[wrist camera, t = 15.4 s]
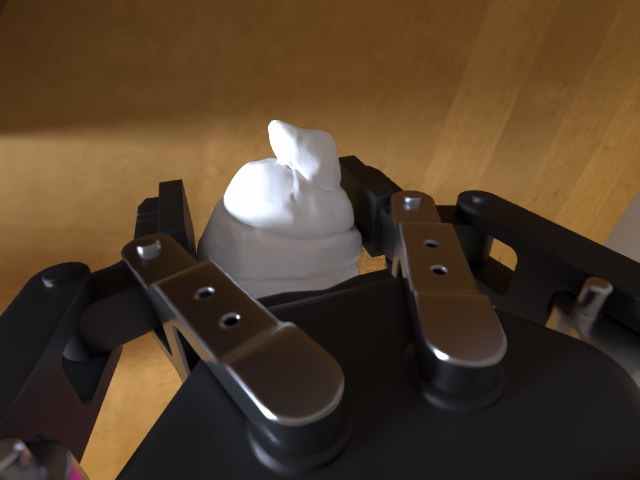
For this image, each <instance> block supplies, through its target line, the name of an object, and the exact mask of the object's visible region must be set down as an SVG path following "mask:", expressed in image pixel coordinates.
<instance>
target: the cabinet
mask: <svg viewBox="0 0 640 480" xmlns="http://www.w3.org/2000/svg"><path fill="white" fill-rule="evenodd" d="M6 1H7V0H0V15H1V13H2V11H3V8H4V6H5V4H6Z"/></svg>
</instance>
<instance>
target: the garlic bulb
mask: <svg viewBox="0 0 640 480" xmlns="http://www.w3.org/2000/svg"><path fill="white" fill-rule="evenodd" d="M268 130H269V136H270V142H271V146H272V149H273V151H274V152H275V154H276V156H277V158H278V159H276V158H266V159H263V160H260V161H252V162H249V163H247V164H245V165H244V166H243V167H242V168H241V169H240V170H239V171H238V173H237V174H236V175H235V177H234V178H233V179H232V181H231V183H230V185H229V187H228V188H227V191H226V193H225V195H224V197H223V198H222V199H221V200H220V201H219V202H218V203H217V204H216V206H215V208H214V210H213V213H212V215H211V217H210V219H209V222H208V224H207V226H206V228H205V230H204V233H203V235H202V237H201V238H200V240H199V243H198V248H197V261H198V262H199V263H200V262H202V261H205V260H207V259H211V260H213V261H214V262H215V263H216V264H217V265H219V266H220V267H221V268H222V269H223V270H224V271H225V272H226V273H227V274H229V275H230V276H231V277H232V278H233V279H234V280H235V281H236V282H237V283H239V284H240V285H241V286H242V287H243V288H244V289H245V290H246V291H247V292H249V293H250V294H251V295H252V296H253V297H254V298H255V299H256V298H261V297H265V296H270V295H274V294H278V293H283V292H292V291H311V290H325V289H328V288H330V287H332V286H335V285H337V284H339V283H341V282H344V281H346V280H348V279H350V278H352V277H355V276H358V275H359V270H358V260H359V259H360V257H361V255H362V236H361V233H360V232H359V231H358V229H357V228H356V226H355V225H354V214H353V208H352V204H351V202H350V200H349V199H348V197H347V195H346V192H345V190H343V189H342V187H341V186H340V181H341V171H340V163H339V159H338V153H337V147H336V143H335V141H334V139H333V138H332V137H331V135H330V134H328V133H327V132H325V131H322V130H308V129H303V128H300V127H297V126H295V125H292V124H289V123H287V122H284V121H281V120H273V121H272V122H271V123H270V124H269V126H268Z"/></svg>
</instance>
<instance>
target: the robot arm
mask: <svg viewBox="0 0 640 480" xmlns="http://www.w3.org/2000/svg"><path fill="white" fill-rule="evenodd" d="M338 159H339V163H340V171H341V181H340V186H341V187H342V189H343V190H345V192H346V195H347V197H348V199H349V200H350V202H351V204H352V208H353V214H354V225H355V226H356V228H357V229H358V231H359V232H360V233H361V236H362V245H363V247H364V248H365V249H366V251H367V252H368V253H369V255H370V256H371V257H376V256H381V255H385V263H384V270H380V271H375V272H371V273H366V274H362V275H358V276H355V277H352V278H350V279H348V280H346V281H344V282H341V283H339V284H337V285H335V286H332V287H330V288H328V289H325V290H311V291H292V292H283V293H278V294H274V295H270V296H265V297H261V298H256V299H255V298H254V297H253V296H252V295H251V294H250V293H249V292H247V291H246V290H245V289H244V288H243V287H242V286H241V285H240V284H239V283H237V282H236V281H235V280H234V279H233V278H232V277H231V276H230V275H229V274H227V273H226V272H225V271H224V270H223V269H222V268H221V267H220V266H219V265H217V264H216V263H215V262H214V261H213V260H211V259H207V260H205V261H202V262H200V263H199V262H198V261H197V254H196V245H195V236H194V230H193V225H192V220H191V216H190V211H189V207H188V203H187V198H186V194H185V190H184V186H183V182H182V179H180V180H173V181H166V182H160V183H159V197H154V198H147V199H145V200H144V201H143V202H142V203H141V204H140V205H139V206H138V212H137V220H136V222H137V223H136V227H135V235H134V240H132V241H131V242H129V243H128V244H126V245H125V246H124V248H123V249H122V251H121V256H122V258H123V260H121V261H120V262H118V263H116V264H114V265H112V266H109V267H107V268H104V269H101V270H99V271H96V272H93V273H91V271H90V269H89V267H88V266H87V265H86V264H83V263H80V262H67V263H62V264H58V265H54V266H51V267H49V268H47V269H44V270H42V271H41V272H39V273H37V274H36V275H34V276H33V277H32V278H31V279H30V280H29V281H28V282H27V283H26V285H25V286H24V287H23V288H22V290H21V291H20V292H19V294H18V295H17V296H16V297H15V299H14V300H13V301H12V302H11V304H10V305H9V306H8V308H7V309H6V310H5V311H4V313H3V314H2V315H1V316H0V480H90V479H89V477H88V476H87V474H86V473H85V472H84V470H83V469H82V467H81V466H80V462H81V459H82V457H83V454H84V451H85V449H86V446H87V443H88V441H89V438H90V435H91V433H92V430H93V427H94V425H95V422H96V419H97V417H98V414H99V411H100V409H101V406H102V403H103V401H104V398H105V395H106V393H107V390H108V387H109V385H110V382H111V379H112V377H113V374H114V371H115V369H116V366H117V363H118V361H119V358H120V355H121V353H122V349H123V346H122V345H123V344H125V343H127V342H129V341H131V340H133V339H135V338H138V337H140V336H142V335H144V334H146V333H148V332H150V333H151V334H152V336H153V337H154V338H155V340H156V341H157V343H158V344H159V346H160V347H161V349H162V350H163V351H164V353H165V354H166V356H167V357H168V359H169V360H170V362H171V363H172V365H173V366H174V367H175V369H176V371H177V373H178V374H179V376H180V379H181V381H182V383H183V384H182V386H181V387H180V389H179V390H178V391H177V393H176V394H175V396H174V397H173V398H172V400H171V401H170V403H169V404H168V405H167V407H166V408H165V410H164V411H163V413H162V414H161V415H160V417H159V418H158V420H157V421H156V422H155V424H154V425H153V427H152V428H151V430H150V431H149V432H148V434H147V435H146V437H145V438H144V439H143V441H142V442H141V444H140V445H139V446H138V448H137V449H136V451H135V452H134V454H133V455H132V456H131V458H130V459H129V461H128V462H127V463H126V465H125V466H124V468H123V469H122V470H121V472H120V473H119V475H118V476H117V478H116V479H115V480H640V263H639V262H636V261H634V260H632V259H630V258H628V257H626V256H624V255H621V254H619V253H617V252H615V251H613V250H611V249H609V248H607V247H605V246H603V245H600V244H598V243H596V242H594V241H592V240H590V239H588V238H586V237H583V236H581V235H579V234H577V233H575V232H573V231H571V230H569V229H566V228H564V227H562V226H560V225H558V224H556V223H554V222H552V221H550V220H547V219H545V218H543V217H541V216H539V215H537V214H535V213H533V212H530V211H528V210H526V209H524V208H522V207H520V206H518V205H516V204H513V203H511V202H509V201H507V200H505V199H503V198H501V197H499V196H497V195H494V194H492V193H489V192H485V191H478V190H470V191H464V192H462V193H460V194H459V195H458V199H457V204H456V205H435V202H434V200H433V198H432V197H431V196H429V195H427V194H425V193H422V192H419V191H410V190H408V191H403V190H402V189H401V188H400V187H399V186H397V185H396V184H395V183H394V182H393V181H391V180H390V179H389V178H388V177H386V175H385V174H383V173H382V172H381V171H380V170H378V169H376V168H373V167H370V166H366V165H365V164H363V163H362V162H361V161H360V160H359V159H358V158H357V157H356V156H354V155H353V156H346V157H339V158H338ZM494 238H496V239H497V240H499V241H501V242H503V243H504V244H506V245H508V246H510V247H511V248H512V249H513V250H514V251H515V253H516V255H517V265H516V268H515V271H513V270H511V269H510V268H508V267H506V266H505V265H503V264H502V263H500V262H498V261H497V260H495V259H494V258H492V257H490V256H489V254H490V250H491V246H492V243H493V239H494ZM493 305H494V306H495V307H496V308H495V307H493Z"/></svg>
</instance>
